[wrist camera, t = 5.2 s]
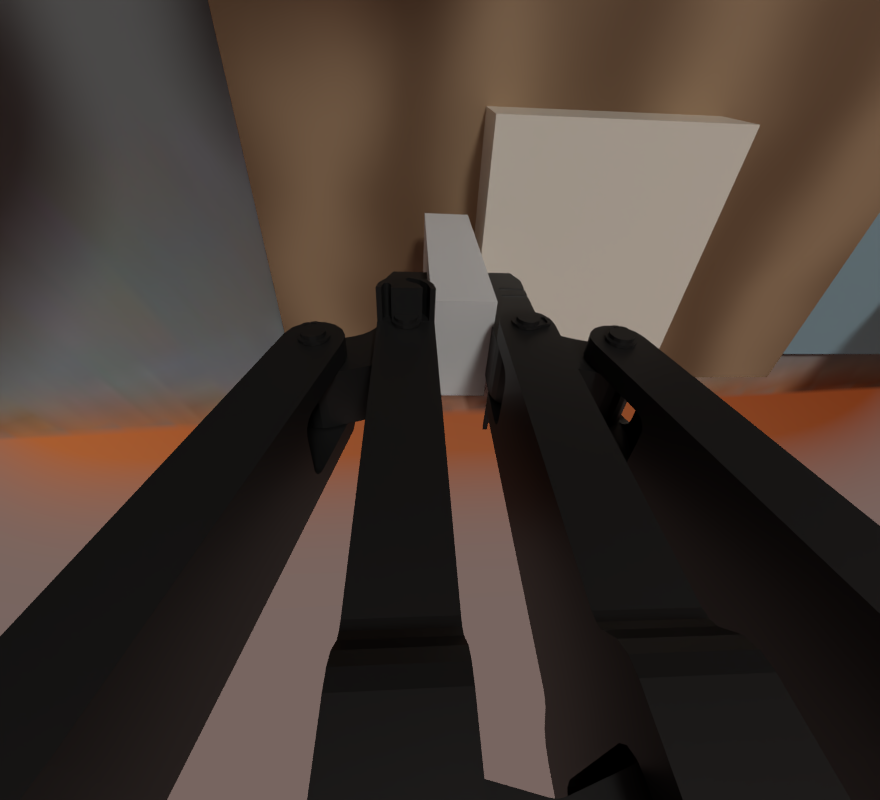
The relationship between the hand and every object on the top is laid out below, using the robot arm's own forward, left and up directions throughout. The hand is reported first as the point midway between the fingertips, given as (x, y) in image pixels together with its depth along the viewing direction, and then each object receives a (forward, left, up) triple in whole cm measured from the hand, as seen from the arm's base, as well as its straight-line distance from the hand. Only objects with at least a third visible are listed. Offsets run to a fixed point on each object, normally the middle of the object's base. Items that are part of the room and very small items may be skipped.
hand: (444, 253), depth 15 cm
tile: (+5, 0, -1) cm, 5 cm away
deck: (+5, 0, -5) cm, 8 cm away
